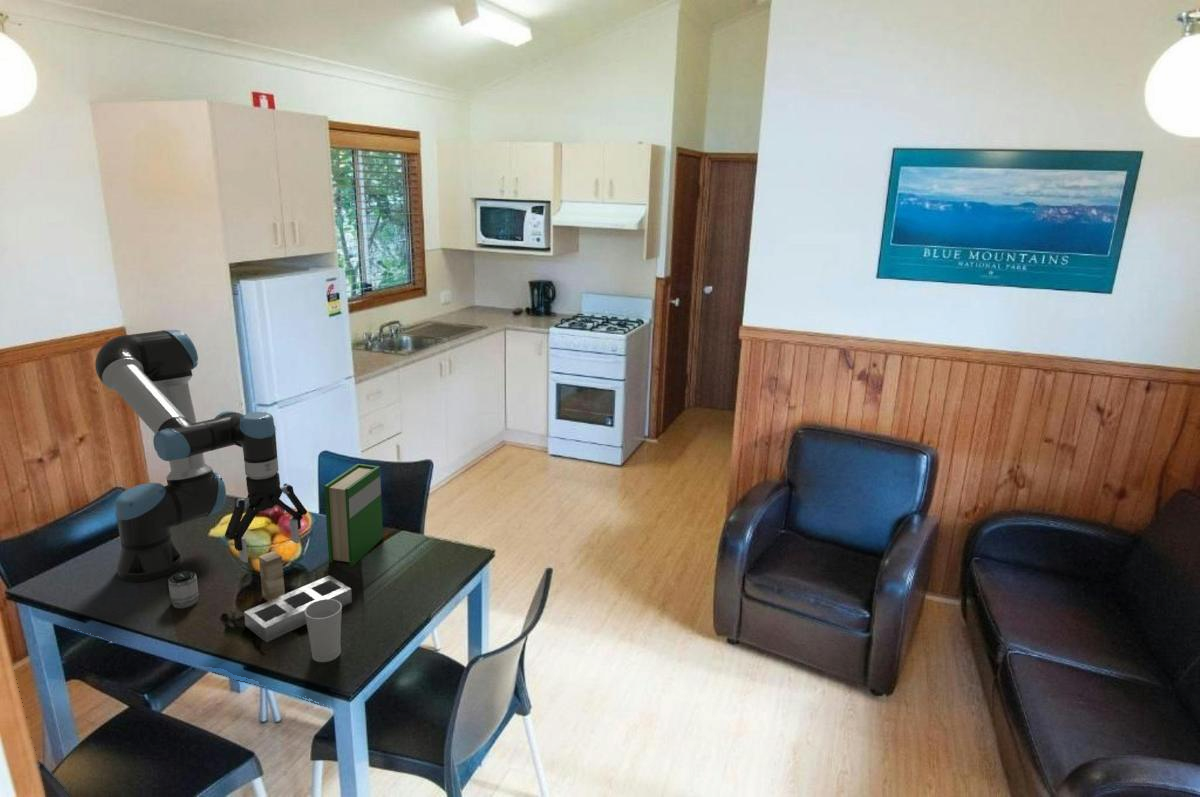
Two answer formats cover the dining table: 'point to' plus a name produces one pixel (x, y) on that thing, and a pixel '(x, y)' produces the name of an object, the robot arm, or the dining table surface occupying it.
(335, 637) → the cup
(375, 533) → the hardback book
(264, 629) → the grey slotted block
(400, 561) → the dining table surface
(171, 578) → the camera lens
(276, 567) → the peg
